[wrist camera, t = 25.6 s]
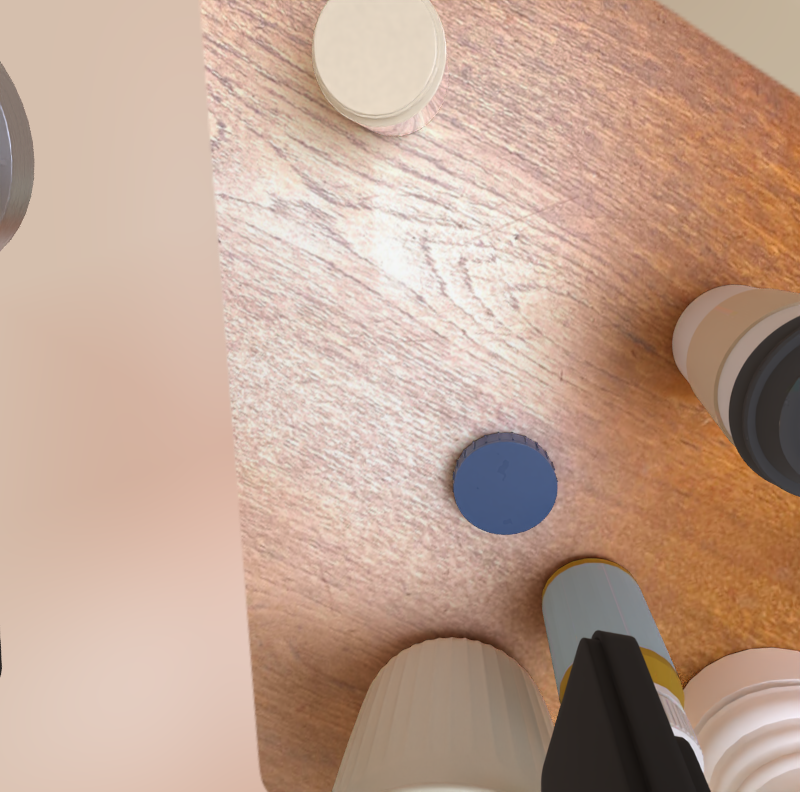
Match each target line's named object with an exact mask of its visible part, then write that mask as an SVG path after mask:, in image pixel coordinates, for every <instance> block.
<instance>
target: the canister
mask: <svg viewBox="0 0 800 792" xmlns="http://www.w3.org/2000/svg"><path fill="white" fill-rule="evenodd" d="M553 730H554V725H553V722H552V719H551V717H550V714H549V711H548V708H547V706H546V703H545V701H544V699H543V697H542V695H541V693H540V691H539V689H538V687H537V685H536V683H535V682H534V681H533V680H532V678H531V677H530V676H529V674H528V673H527V671H526V670H525V669H524V668H523V667H521V666H520V665H519V664H518V662H517V661H516V660H515V659H513V658H512V657H509V656H508V655H507V654H506V653H505V652H504V651H502V650H498V649H496V648H494V647H493V646H492V645H489V644H484V643H482V642H480V641H479V640H476V641H474V640H469V639H467V638H454V637H450V638H440V637H439V638H437V639H434V640H425V641H424V642H422V643H419V644H413V645H412V646H411V647H410V648H408V649H404V650H402V651H401V652H400V653H399V654H398V655H397V656H394V657H392V658H391V659H390V660H389V662H388V663H387V665H385V666H384V667H383V668H381V670H380V671H379V672H378V674H377V676H376V678H375V679H374V680H373V681H372V683H371V685H370V687H369V689H368V692H367V694H366V697H365V699H364V701H363V703H362V706H361V709H360V711H359V714H358V717H357V719H356V722H355V725H354V728H353V730H352V733H351V736H350V738H349V741H348V744H347V747H346V750H345V753H344V756H343V759H342V762H341V765H340V768H339V771H338V774H337V777H336V780H335V783H334V786H333V789H332V792H541V775H542V769H543V764H544V761H545V758H546V754H547V751H548V747H549V744H550V740H551V737H552V734H553Z"/></svg>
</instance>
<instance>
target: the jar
mask: <svg viewBox="0 0 800 792" xmlns="http://www.w3.org/2000/svg"><path fill="white" fill-rule="evenodd" d="M312 64H313V69H314V74H315V77H316V80H317V83H318V85H319V87H320V89H321V91H322V93H323V94H324V96H325V97H326V99H327V100H328V101H329V103H330V104H331V105H332V106H333V107H334V108H335V109H336V110H337V111H338V112H339V113H341V114H342V115H343V116H345V117H346V118H348V119H350V120H352V121H354V122H355V123H357V124H359V125H361V126H363V127H365V128H367V129H369V130H370V131H372V132H375V133H377V134H380V135H385V136H403V135H408V134H410V133H413V132H415V131H417V130H419V129H421V128H422V127H424V126H425V125H427V124H428V123H429V122H430V121H431V120H432V119H433V118H434V116H435V115H436V114H437V113H438V111H439V110H440V108H441V106H442V104H443V102H444V100H445V97H446V94H447V89H448V84H449V66H448V54H447V43H446V37H445V32H444V28H443V25H442V22H441V20H440V17H439V15H438V13H437V11H436V10H435V8H434V6H433V5H432V3H431V2H430V1H429V0H328V1H327V3H326V5H325V6H324V8H323V9H322V11H321V13H320V14H319V17H318V20H317V23H316V26H315V29H314V33H313V40H312Z"/></svg>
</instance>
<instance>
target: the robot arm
mask: <svg viewBox="0 0 800 792" xmlns="http://www.w3.org/2000/svg"><path fill="white" fill-rule="evenodd" d="M0 643H1V642H0ZM1 670H2V663H1V644H0V675H1ZM541 792H711V790H710V788H709V786H708V783H707V781H706V779H705V776H704V774H703V771H702V769H701V767H700V764H699V762H698V759H697V757H696V755H695V752H694V750H693V749H692V747H691V745H690V743H689V742H688V741H687V740H686V739H684V738H683V737H678V736H674V733H673V731H672V728H671V725H670V723H669V720H668V718H667V715H666V713H665V710H664V708H663V705H662V703H661V700H660V698H659V695H658V693H657V690H656V688H655V685H654V682H653V680H652V677H651V675H650V672H649V670H648V667H647V665H646V662H645V660H644V657H643V655H642V652H641V650H640V647H639V645H638V642H637V640H636V639H635V638H634V637H633V636H629V635H623V634H617V633H612V632H606V631H600V630H597V631H595V632H594V634H593V635H592V638H591V639H590V638H585V637H583V638H582V639H581V640H580V642H579V645H578V648H577V651H576V655H575V658H574V662H573V665H572V668H571V672H570V675H569V679H568V682H567V686H566V689H565V692H564V696H563V699H562V703H561V706H560V710H559V713H558V716H557V720H556V723H555V727H554V730H553V734H552V737H551V740H550V744H549V747H548V751H547V754H546V758H545V761H544V764H543V769H542V775H541Z"/></svg>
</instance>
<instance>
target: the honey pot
mask: <svg viewBox="0 0 800 792" xmlns="http://www.w3.org/2000/svg"><path fill="white" fill-rule="evenodd" d="M683 692H684V697H685V700H684V711H685V713H686V716H687V718H688V719H689V722H690V724H691V726H692V729H693V731H694V733H695V736H696V738H697V740H698V743H699V745H700V747H701V750H702V754H703V759H704V773H703V774H704V776H705V779H706V781H707V783H708V786H709V788H710V790H711V792H800V652H799V651H795V650H788V649H781V648H759V649H748V650H745V651H741V652H738V653H734V654H731V655H727V656H725V657H723V658H721V659H719V660H717V661H715V662H714V663H712V664H710V665H708V666H706V667H705V668H704V669H702V670H701V671H700V672H699V673H698V674H697V675H696V676H695V677H693V678H692V679H691V680H690V681H689V682H688V684H687V685H686V687H685V688H684V690H683Z"/></svg>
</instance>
